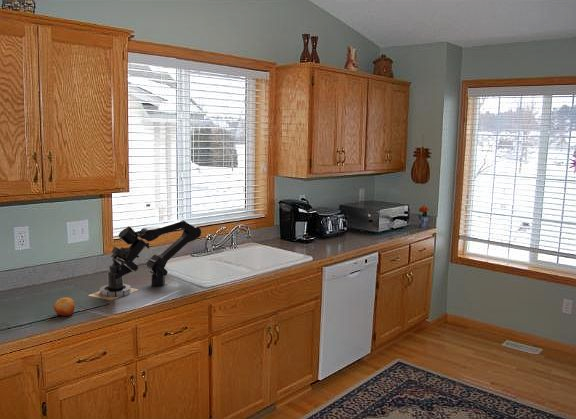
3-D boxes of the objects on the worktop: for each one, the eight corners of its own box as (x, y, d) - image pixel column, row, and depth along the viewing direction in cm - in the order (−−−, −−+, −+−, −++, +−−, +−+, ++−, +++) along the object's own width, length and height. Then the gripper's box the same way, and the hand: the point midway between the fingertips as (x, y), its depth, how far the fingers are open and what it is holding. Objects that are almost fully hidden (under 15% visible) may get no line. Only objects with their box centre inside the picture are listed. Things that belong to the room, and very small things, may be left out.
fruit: (79, 306, 217) (75, 294, 212) (74, 321, 211) (69, 309, 206) (60, 306, 217) (55, 293, 212) (54, 321, 211) (49, 308, 206)
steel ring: (114, 286, 247) (114, 282, 247) (136, 291, 242) (136, 286, 241) (93, 294, 235) (93, 289, 235) (115, 299, 230) (115, 294, 229)
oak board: (116, 286, 250) (116, 285, 250) (138, 291, 244) (138, 289, 244) (87, 296, 234) (87, 295, 234) (111, 302, 228) (111, 300, 228)
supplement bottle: (123, 287, 243) (122, 263, 241) (123, 292, 236) (122, 266, 234) (108, 288, 241) (107, 264, 239) (107, 293, 234) (106, 267, 232)
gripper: (114, 236, 244) (92, 262, 239) (130, 243, 230) (107, 271, 225) (130, 250, 251) (109, 275, 245) (147, 258, 237) (125, 285, 231)
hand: (112, 276), depth 237 cm, fingers closed on supplement bottle, 7 cm apart
